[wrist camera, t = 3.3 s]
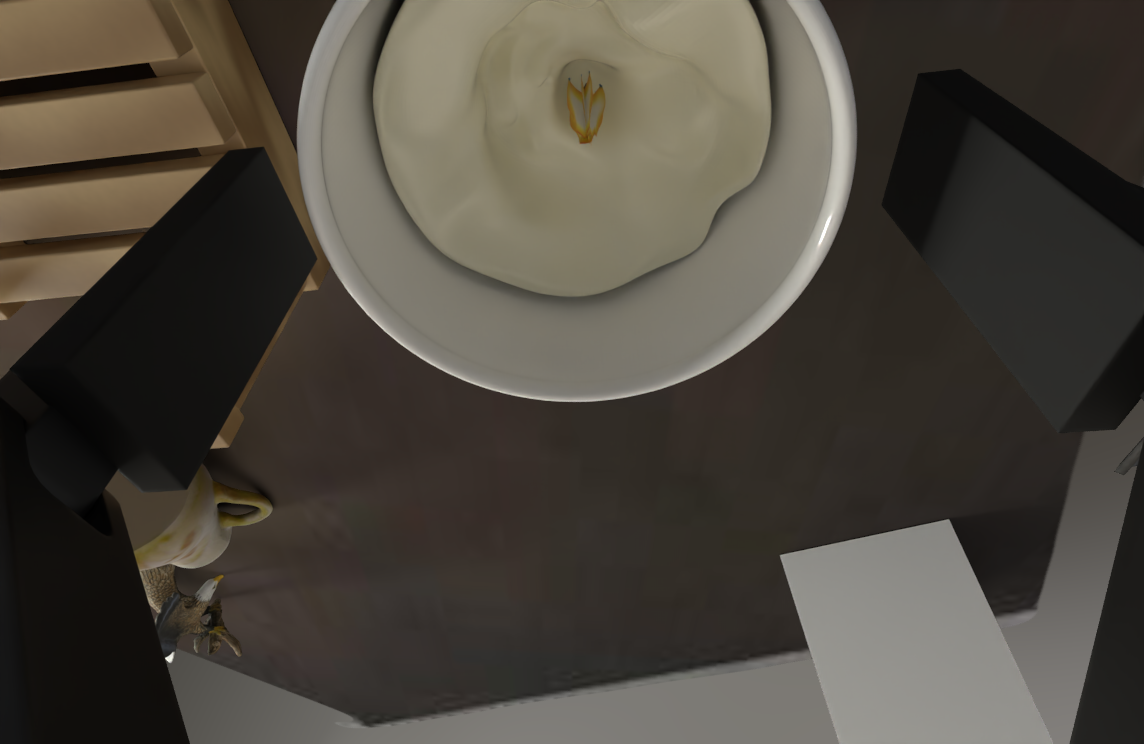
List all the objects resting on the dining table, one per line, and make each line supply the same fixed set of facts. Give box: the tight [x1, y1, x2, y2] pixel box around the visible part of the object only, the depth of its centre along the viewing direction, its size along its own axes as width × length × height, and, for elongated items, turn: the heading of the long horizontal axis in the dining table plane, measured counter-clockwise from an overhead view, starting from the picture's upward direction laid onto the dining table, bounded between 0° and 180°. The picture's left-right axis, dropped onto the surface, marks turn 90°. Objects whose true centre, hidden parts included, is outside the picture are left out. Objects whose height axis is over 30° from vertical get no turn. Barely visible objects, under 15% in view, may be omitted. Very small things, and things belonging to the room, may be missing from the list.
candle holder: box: [297, 0, 857, 402], centre depth 15 cm, size 10×10×12 cm
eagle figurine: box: [140, 564, 242, 663], centre depth 43 cm, size 8×7×9 cm
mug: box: [105, 463, 273, 571], centre depth 34 cm, size 8×10×10 cm
